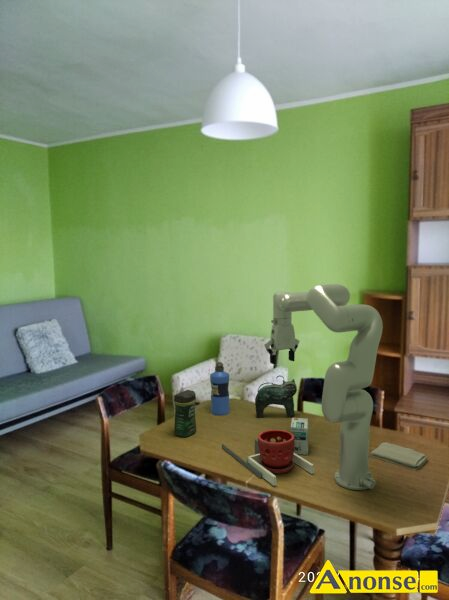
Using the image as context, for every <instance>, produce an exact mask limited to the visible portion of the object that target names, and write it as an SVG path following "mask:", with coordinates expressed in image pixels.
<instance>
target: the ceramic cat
mask: <svg viewBox="0 0 449 600" xmlns="http://www.w3.org/2000/svg"><path fill="white" fill-rule="evenodd" d="M279 377H281V378H283V380H282V383H281V384H276V383H273V382H270V384H268V382H265V383H264V382H263V383H261V384H260V385H259V386H258V388H257V394H256V396H255V398H254V405H255V413H256V418H257V419H263V418H264V410H265V409H266V408H267V407H268V406H270V405H276V406H283V407H284V409H285V412H286V413H285V414H286V418H287V419H289V418H291V419H292V418H295V401H294V396H295V395H296V393H297V391H298V389H297V388H298V387H297V384H296V381H295V379H294V378H293V379H291V381H290V380H288V381H286V380H285V378H284V376H283V375H277V376H276V377H275V379H278V378H279ZM267 384H268V385H267ZM263 385H264V386H263Z"/></svg>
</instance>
